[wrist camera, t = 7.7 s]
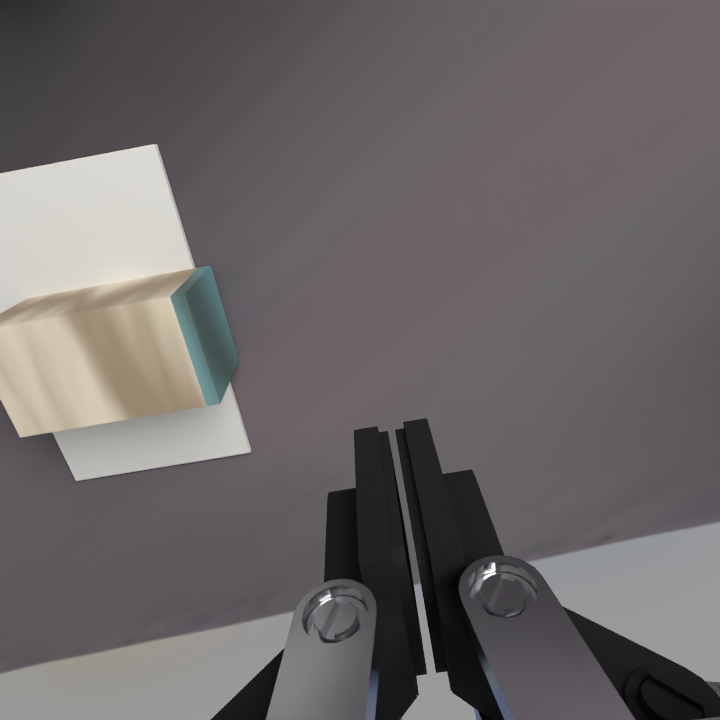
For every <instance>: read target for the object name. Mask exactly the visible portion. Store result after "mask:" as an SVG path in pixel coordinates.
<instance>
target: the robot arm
mask: <svg viewBox="0 0 720 720" xmlns="http://www.w3.org/2000/svg"><path fill="white" fill-rule="evenodd" d="M403 424H404V428H403V429H397V430H395V432H396V438H397V444H398V450H399V456H400V462H401V468H402V473H403V479H404V485H405V491H406V497H407V503H408V509H409V515H410V521H411V527H412V533H413V539H414V545H415V551H416V557H417V563H418V569H419V574H420V580H421V586H422V592H423V598H424V604H425V610H426V615H427V621H428V627H429V633H430V639H431V645H432V651H433V657H434V662H435V669H436V673H438V672H445V671H447V672H448V677H449V682H450V688H451V690H452V692H453V693H454V694H455V695H457V696H458V697H460V698H461V699H462V700H464V701H465V702H467V703H468V704H470V705H471V706H472V707H474V710H475V715H476V719H477V720H720V683H719V682H706V681H704V680H703V679H702V678H701V677H699V676H697V675H696V674H694V673H693V672H691V671H689V670H688V669H686V668H685V667H683V666H681V665H679V664H677V663H675V662H673V661H671V660H669V659H667V658H665V657H663V656H661V655H659V654H657V653H655V652H653V651H651V650H649V649H647V648H645V647H643V646H640V645H639V644H637V643H635V642H633V641H631V640H629V639H627V638H625V637H623V636H621V635H619V634H617V633H615V632H613V631H611V630H609V629H607V628H605V627H603V626H601V625H599V624H597V623H595V622H593V621H591V620H589V619H587V618H585V617H583V616H581V615H579V614H577V613H575V612H573V611H571V610H569V609H567V608H565V607H563V606H561V604H560V602H559V601H558V599H557V598H556V596H555V595H554V593H553V592H552V590H551V589H550V587H549V586H548V584H547V582H546V581H545V579H544V578H543V576H542V575H541V574H540V573H539V572H538V571H537V570H536V569H535V567H533V566H531V565H530V564H528V563H527V562H525V561H524V560H521V559H518V558H515V557H512V556H504V553H503V551H502V548H501V545H500V543H499V540H498V537H497V534H496V532H495V529H494V526H493V524H492V521H491V518H490V516H489V513H488V510H487V507H486V505H485V502H484V499H483V497H482V494H481V491H480V489H479V486H478V483H477V480H476V478H475V475H474V473H473V471H472V470H466V471H460V472H454V473H447V474H442V470H441V467H440V463H439V460H438V456H437V453H436V449H435V446H434V442H433V438H432V435H431V431H430V428H429V424H428V421H427V418H425V419H419V420H413V421H407V422H403ZM354 445H355V474H356V488H353V489H346V490H340V491H334V492H329V493H328V501H327V525H326V549H325V574H324V583H322V584H320V585H317V586H316V587H315V588H313V589H312V590H310V591H309V592H308V593H307V594H306V595H305V596H304V597H303V598H302V600H301V601H300V602H299V604H298V606H297V608H296V610H295V613H294V616H293V619H292V624H291V627H290V631H289V635H288V638H287V642H286V646H285V648H284V649H283V650H282V651H281V652H280V653H279V654H278V655H277V656H276V657H275V658H274V659H273V660H272V661H271V662H270V663H269V664H268V665H267V666H266V667H265V668H264V669H263V670H261V671H260V672H259V674H257V675H256V676H255V677H254V678H253V679H252V680H251V681H250V682H249V683H248V684H247V685H246V686H245V687H244V688H243V689H242V690H241V691H240V692H239V693H238V694H237V695H236V696H235V697H234V698H233V699H232V700H231V701H230V702H229V703H227V704H226V705H225V706H224V708H222V709H221V710H220V711H219V712H218V713H217V714H216V715H215V716H214V717H213V718H212V719H211V720H402V716H403V715H404V713H405V712H406V711H407V709H408V708H409V707H410V706H411V704H412V703H413V702H414V700H415V699H416V698H417V695H419V694H418V686H417V679H416V676H417V675H424V674H427V671H426V664H425V658H424V651H423V645H422V638H421V632H420V624H419V618H418V611H417V605H416V598H415V591H414V585H413V578H412V572H411V565H410V558H409V552H408V545H407V539H406V532H405V526H404V520H403V515H402V509H401V503H400V498H399V492H398V486H397V481H396V475H395V469H394V464H393V458H392V453H391V447H390V441H389V436H388V431H385V432H379V431H378V427H377V426H376V427H370V428H364V429H358V430H354Z"/></svg>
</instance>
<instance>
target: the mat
mask: <svg viewBox="0 0 720 720" xmlns="http://www.w3.org/2000/svg"><path fill="white" fill-rule="evenodd" d="M193 268H195V265H194V262H193V259H192V256H191V252H190V249H189V246H188V243H187V239H186V236H185V233H184V230H183V226H182V223H181V220H180V217H179V213H178V210H177V207H176V204H175V200H174V197H173V194H172V191H171V187H170V184H169V181H168V178H167V174H166V171H165V168H164V165H163V161H162V158H161V155H160V152H159V148H158V145H157V144H153V145H147V146H142V147H137V148H132V149H126V150H121V151H116V152H111V153H105V154H100V155H95V156H90V157H84V158H79V159H74V160H69V161H64V162H58V163H53V164H48V165H43V166H37V167H32V168H27V169H22V170H16V171H11V172H6V173H1V174H0V313H2V312H4V311H6V310H8V309H9V308H11V307H13V306H15V305H16V304H18V303H20V302H22V301H23V300H25V299H27V298H32V297H38V296H43V295H49V294H54V293H60V292H65V291H71V290H77V289H82V288H88V287H93V286H99V285H104V284H110V283H115V282H121V281H127V280H132V279H138V278H143V277H149V276H154V275H160V274H166V273H171V272H177V271H182V270H188V269H193ZM52 433H53V435H54V437H55V439H56V441H57V443H58V445H59V447H60V449H61V451H62V453H63V455H64V457H65V459H66V461H67V464H68V466H69V468H70V470H71V472H72V474H73V476H74V478H75V480H76V481H79V480H85V479H91V478H98V477H104V476H110V475H116V474H122V473H128V472H134V471H140V470H147V469H153V468H159V467H165V466H171V465H177V464H183V463H189V462H196V461H202V460H208V459H214V458H220V457H226V456H232V455H238V454H245V453H250V452H251V447H250V444H249V441H248V437H247V434H246V431H245V428H244V424H243V421H242V418H241V415H240V411H239V408H238V405H237V402H236V398H235V395H234V392H233V389H232V385H231V382H230V383H229V385H228V387H227V390H226V392H225V394H224V396H223V399H222V401H221V403H220V404H217V405H211V406H205V407H199V408H193V409H187V410H181V411H175V412H169V413H163V414H157V415H151V416H145V417H139V418H133V419H127V420H121V421H115V422H110V423H104V424H98V425H92V426H86V427H80V428H74V429H68V430H62V431H56V432H52Z"/></svg>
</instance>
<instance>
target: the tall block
mask: <svg viewBox="0 0 720 720" xmlns="http://www.w3.org/2000/svg"><path fill="white" fill-rule="evenodd" d="M238 362H239V359H238V356H237V352H236V349H235V346H234V342H233V339H232V335H231V332H230V329H229V325H228V322H227V318H226V315H225V312H224V308H223V305H222V302H221V298H220V295H219V291H218V288H217V285H216V281H215V278H214V274H213V271H212V268H211V265H210V266H204V267H199V268H193V269H188V270H182V271H177V272H171V273H166V274H160V275H154V276H149V277H143V278H138V279H132V280H127V281H121V282H115V283H110V284H104V285H99V286H93V287H88V288H82V289H77V290H71V291H65V292H60V293H54V294H49V295H43V296H38V297H32V298H27V299H25V300H23V301H22V302H20V303H18V304H16V305H15V306H13V307H11V308H9V309H8V310H6V311H4V312H2V313H0V399H1V401H2V403H3V405H4V407H5V409H6V411H7V413H8V415H9V417H10V418H11V420H12V422H13V424H14V426H15V428H16V430H17V432H18V434H19V436H20V437H26V436H32V435H38V434H44V433H50V432H56V431H62V430H68V429H74V428H80V427H86V426H92V425H98V424H104V423H110V422H115V421H121V420H127V419H133V418H139V417H145V416H151V415H157V414H163V413H169V412H175V411H181V410H187V409H193V408H199V407H205V406H211V405H217V404H220V403H221V401H222V399H223V396H224V394H225V392H226V390H227V387H228V385H229V383H230V380H231V378H232V376H233V373H234V371H235V369H236V366H237V364H238Z"/></svg>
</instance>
